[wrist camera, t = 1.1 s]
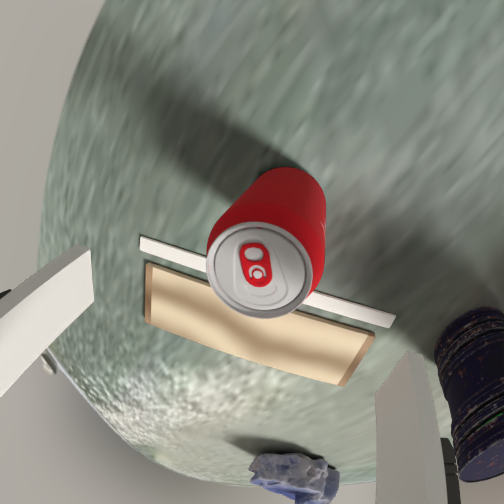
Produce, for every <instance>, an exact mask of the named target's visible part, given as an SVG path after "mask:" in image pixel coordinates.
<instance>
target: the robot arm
mask: <svg viewBox="0 0 504 504" xmlns="http://www.w3.org/2000/svg"><path fill="white" fill-rule="evenodd" d="M93 302H94V294H93V284H92V271H91V255H90V249H88V248H86V247H84V246H81V245H79V244H76V245H75V246H73V247H72V248H70V249H69V250H67V251H66V252H64V253H63V254H62V255H60V256H59V257H57V258H56V259H54V260H53V261H51V262H50V263H49V264H47V265H46V266H44V267H43V268H42V269H40V270H39V271H37V272H36V273H35V274H33V275H32V276H31V277H29V278H28V279H26V280H25V281H24V282H22V283H21V284H20V285H18V286H17V287H16V288H15V289H13V290H11V289H9V290H7V291H4V292H2V293H0V397H1V396H2V395H3V394H4V393H5V392H6V391H7V390H8V389H9V387H10V386H11V385H12V384H13V383H14V382H15V381H16V380H17V379H18V377H19V376H20V375H21V374H22V373H23V372H24V371H25V370H26V369H27V368H28V367H29V366H30V364H32V362H33V361H34V360H35V359H36V358H37V357H38V356H39V355H40V354H41V353H42V352H43V351H44V350H45V349H46V348H47V347H48V346H49V345H50V344H51V343H52V342H53V341H54V340H55V339H56V338H57V337H58V336H59V335H60V334H61V333H62V332H63V331H64V330H65V329H66V328H67V327H68V326H69V325H70V324H71V323H72V322H73V321H74V320H75V319H76V318H77V317H78V316H79V315H80V314H81V313H82V312H83V311H84V310H85V309H86V308H87V307H88V306H89V305H91V304H92V303H93ZM375 410H376V442H377V471H376V502H375V503H376V504H461V501H460V490H459V480H458V476H457V473H458V472H457V466H456V465H455V464H456V458H455V452H454V449H453V447H452V445H451V443H450V441H449V439H448V438H440V433H439V428H438V422H437V416H436V411H435V406H434V401H433V396H432V392H431V387H430V383H429V379H428V374H427V370H426V366H425V362H424V358H423V355H421V354H417V353H413V352H409V351H406V353H405V354H404V356H403V357H402V359H401V360H400V361H399V363H398V364H397V366H396V367H395V368H394V370H393V371H392V373H391V374H390V375H389V377H388V378H387V379H386V381H385V382H384V383H383V385H382V386H381V387H380V389H379V390H378V391H377V392H376V394H375Z"/></svg>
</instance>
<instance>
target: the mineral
mask: <svg viewBox="0 0 504 504" xmlns="http://www.w3.org/2000/svg"><path fill="white" fill-rule="evenodd" d="M327 466H328V462H327V461H325V460H323V459H316V460H312V459H310V458H309V457H308V456H305V455H304V454H302V453H289V454H283V455H279V454H274V453H273V454H262V455H259V456H258V457H256V458H255V459H254V461H253V462H252V463H251V465H250V466H249V469H248V470H249V471H251V472H254V473H255V475H254V476H253V477H252V478H251V481H250V482H251V483H253V484H256V485H259V486H261V487H263V488H264V489H266V490H269V491H271V492H274V493H277V494H282V495H284V496H286V497H288V498H290V499H292V500H295V504H330V503H331V502H332V500H333V498H335V496H336V493H337V491H338V488H339V478H340V473H339V472H338V471H336V470H333V469H330V468H328V467H327Z"/></svg>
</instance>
